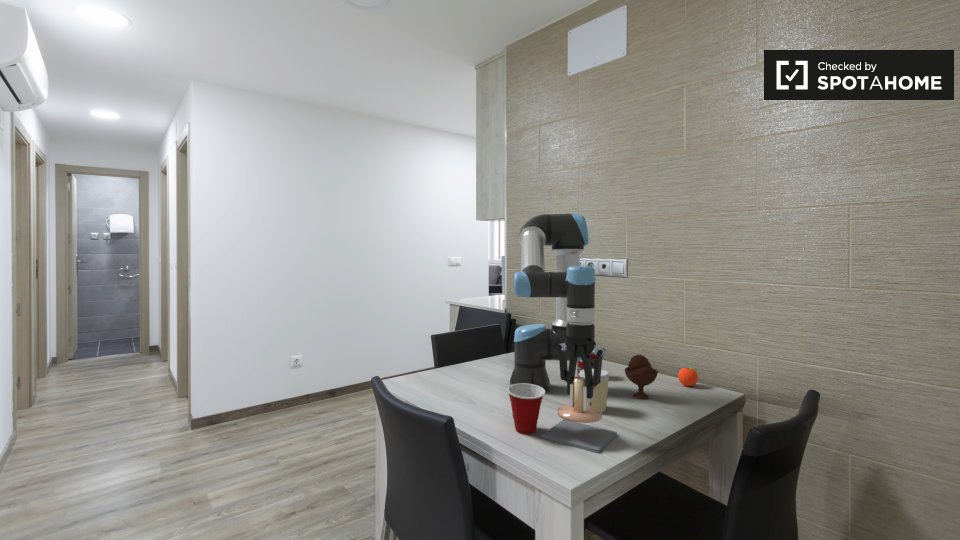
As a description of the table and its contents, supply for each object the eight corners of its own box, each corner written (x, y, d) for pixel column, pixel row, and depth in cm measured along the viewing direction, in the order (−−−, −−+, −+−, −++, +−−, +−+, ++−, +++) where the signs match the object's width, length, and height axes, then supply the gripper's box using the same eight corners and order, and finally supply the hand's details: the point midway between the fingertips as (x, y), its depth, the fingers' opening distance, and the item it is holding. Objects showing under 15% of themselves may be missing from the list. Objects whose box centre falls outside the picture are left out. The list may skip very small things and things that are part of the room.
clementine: (690, 382, 174) (690, 364, 174) (704, 387, 167) (704, 368, 167) (673, 384, 171) (674, 365, 171) (687, 389, 165) (687, 370, 164)
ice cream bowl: (660, 403, 150) (661, 358, 149) (626, 400, 152) (626, 357, 152) (654, 393, 160) (655, 351, 160) (622, 391, 163) (623, 350, 162)
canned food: (576, 374, 186) (576, 347, 185) (596, 374, 185) (596, 348, 184) (577, 379, 178) (578, 351, 178) (598, 380, 177) (598, 352, 177)
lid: (549, 416, 121) (550, 379, 121) (568, 404, 131) (568, 370, 130) (592, 426, 114) (592, 387, 114) (608, 412, 124) (609, 377, 123)
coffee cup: (573, 406, 147) (573, 370, 146) (596, 402, 151) (596, 367, 150) (590, 415, 138) (591, 377, 138) (614, 411, 142) (615, 374, 141)
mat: (541, 437, 122) (541, 434, 122) (563, 421, 133) (563, 419, 133) (598, 453, 112) (598, 450, 112) (616, 434, 124) (616, 431, 124)
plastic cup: (518, 441, 120) (518, 396, 119) (500, 426, 130) (500, 385, 129) (552, 434, 124) (553, 391, 124) (533, 420, 134) (533, 381, 134)
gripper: (547, 321, 123) (546, 405, 124) (604, 327, 114) (603, 418, 115) (559, 318, 129) (558, 398, 130) (614, 323, 120) (613, 410, 121)
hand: (579, 407), depth 122 cm, fingers closed on lid, 3 cm apart
